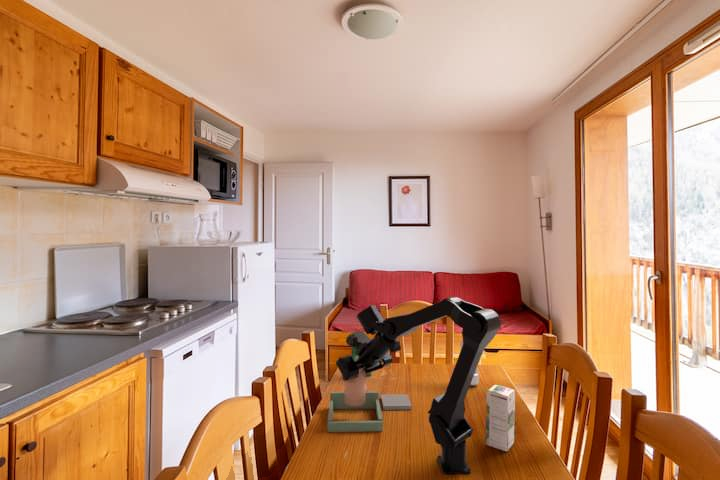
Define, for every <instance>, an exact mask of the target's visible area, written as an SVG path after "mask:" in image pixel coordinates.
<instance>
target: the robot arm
mask: <svg viewBox="0 0 720 480" xmlns="http://www.w3.org/2000/svg"><path fill="white" fill-rule="evenodd" d="M444 317H449V318H450V319H451V321H452V322H453V323H454V324H455V325H456V326H458V327H460V328H462V331H461V335H462V340H463V346H462V349H461V348H460V352H459V355H458V357H457V359H456V363H455V365H454V368H453V371H452V374H451V376H450V378H449V382H448V385H447V387H446V390H445V392H443V393H441V394H440V395H438V396H436V397H434V398H432V402H431V406H430V408H429V410H428V411H427V414H428V423H429V424H430V428H431V430H432V435H433V437H434V442H435V443H436V444H438V445H439V446H440V447H441V452H440V455H437V456H436V458H437V461H438V464H439V466H440V469H441V472H442V473H443V474H470V473H472V471H471V468H470V465H469V464H468V462H467V439H468V438H471V437H472V435H473V431H474V428H473V426H471V425H470V423H469V421H468V420H467V418H466V417H465V413H466V406H465V405H466V404H465V399H466V396H467V393H468V392H469V389H470V387H471V386H470V384H471V381H472V378H473V376H474V373H475V371H476V368H478V366H479V363H480V361H481V358H482V355H483V352H484V350H485V349H486V348H487V346H489V344H490V343H491V342H492V341H493V339H494V338H495V336H496V335H497V334H498V332H499V330H500V328H501V326H502V320H501V318H500V316H499V315H498V313H497V312H496V311H494V309H492V308H491V309H490V308H484V307H482V306H480V305H477V304H474V303H472V302H468V301H465V300H463V299H462V298H460V297H457V296H452V297H450V296H449V297H446V298H443V299H441V300H440V301H439V302H436V303H433V304H431V305H429V306H428V305H427V306H425V307H423V308H421V309H418V310H416V311H414V312H413V311H412V312H411V313H406V314H400V315H396V316H395V315H394V316H390V317H387V318H383V316H382V315H381V313H380V312H379V310H378V308H377V307H376V305H375V304H373V305H372V304H370V305H368V307H366V308H364V309H363V310H361V311H360V312H358V313H357V315H356V319H357V321H358V322H359V323H360V325H361V327H362V329H363V330H362V331H361V330H358V331H354V332H353V331H352V332H351V333H350V334H348V336H346V340H345V342H346V344H347V345H348V346H349V347H350V348H352V347H354V348H355V349H356V352H355V353H356V355H357V356H359V357H358V361H355V362H354V360H353V358H352V356H351V354H350V355H349V354H347V355H344V356H340V357H338V358H337V360H335V361H336V362H335V364H336V366H337V368H338V370H339V372H340V374H341V375H342V377H341V378H342V379H341V380H342V381H343V382H344V381H346V380H350V379H353V378H356V377H358V374H359V370H360V369H364V370H365V371H366V373H369V372H371V373H373V372H376V371H379V370H381V369H383V368H385V367H388V366H390V365H391V364H392V363H393V357H392V355H391V354H394V353H396V352H399V351H401V350H402V346H401V344H400V343H401V342H400V341H399V340H398V339H400V338H403V337H407V336H408V335H410V334H411V333H413V332H415V331H416V329H418V328H420V327H421V326H423V325H426V324H429V323H431V322H434V321H437V320H440V319H443V318H444ZM363 331H364V332H363ZM368 335H371V336H373V337H372V338H370V337H369V336H368ZM390 353H391V354H390Z"/></svg>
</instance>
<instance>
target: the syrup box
mask: <svg viewBox="0 0 720 480" xmlns="http://www.w3.org/2000/svg"><path fill="white" fill-rule="evenodd" d="M485 398H486V407H485V408H486V409H485V410H486V411H485V413H486V414H485V420H486V421H485V422H486V423H485V445H487V446H489V447H491V448H495V449H497V450H501V451H504V452H509V450H510V449H511V447H512V446H513V445H514V444H515V429H516V428H515V425H516V424H515V423H516V422H515V419H516V390H515V389H513V388H510V387H507V386H502V385H499V384H494V385H493V386H491V387H490V388H489V389H488V390H486V397H485Z"/></svg>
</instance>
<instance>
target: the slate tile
mask: <svg viewBox="0 0 720 480" xmlns="http://www.w3.org/2000/svg"><path fill="white" fill-rule="evenodd" d="M380 399H381V400H380V401H381V404H382V408H383V411H398V410H399V411H401V410H402V411H404V410H406V411H409V410H413V406H412V403H411V400H410V397H409V395H408V393H406V394H404V393H403V394H399V393H398V394H395V393H393V394H389V393H388V394H381V395H380Z"/></svg>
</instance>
